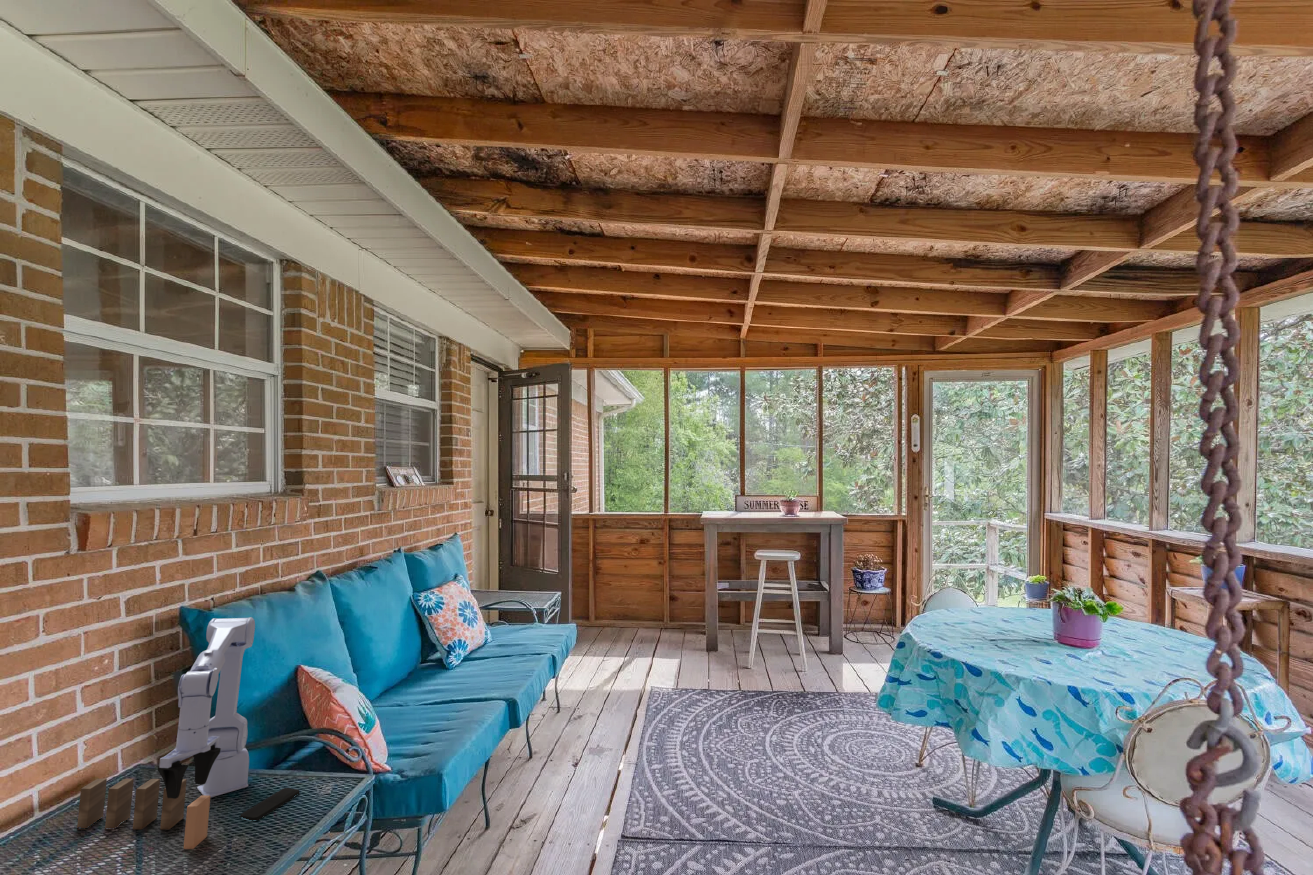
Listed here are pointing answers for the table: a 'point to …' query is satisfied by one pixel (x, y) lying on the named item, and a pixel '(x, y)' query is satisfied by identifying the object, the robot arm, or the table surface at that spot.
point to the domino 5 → (196, 822)
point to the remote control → (270, 804)
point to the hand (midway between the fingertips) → (187, 790)
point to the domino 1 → (91, 803)
